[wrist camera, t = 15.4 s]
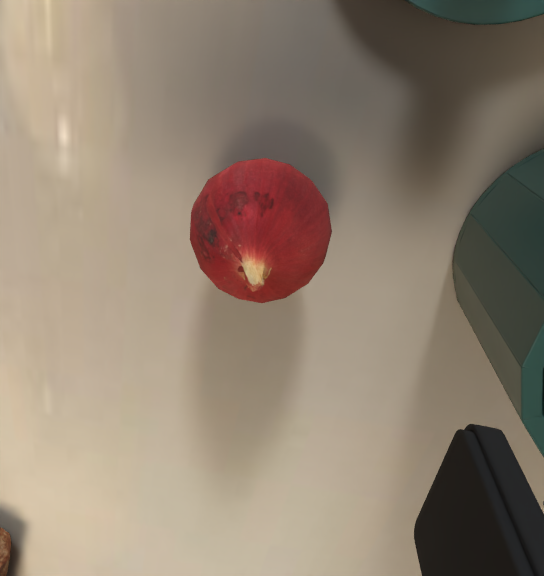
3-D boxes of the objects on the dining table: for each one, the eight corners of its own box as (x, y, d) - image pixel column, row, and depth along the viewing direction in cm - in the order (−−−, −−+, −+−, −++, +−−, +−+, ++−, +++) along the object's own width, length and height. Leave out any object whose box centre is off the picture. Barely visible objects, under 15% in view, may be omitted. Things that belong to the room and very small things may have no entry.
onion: (187, 219, 25) (137, 294, 18) (246, 117, 23) (215, 156, 16) (286, 279, 26) (275, 371, 19) (352, 187, 24) (368, 253, 17)
